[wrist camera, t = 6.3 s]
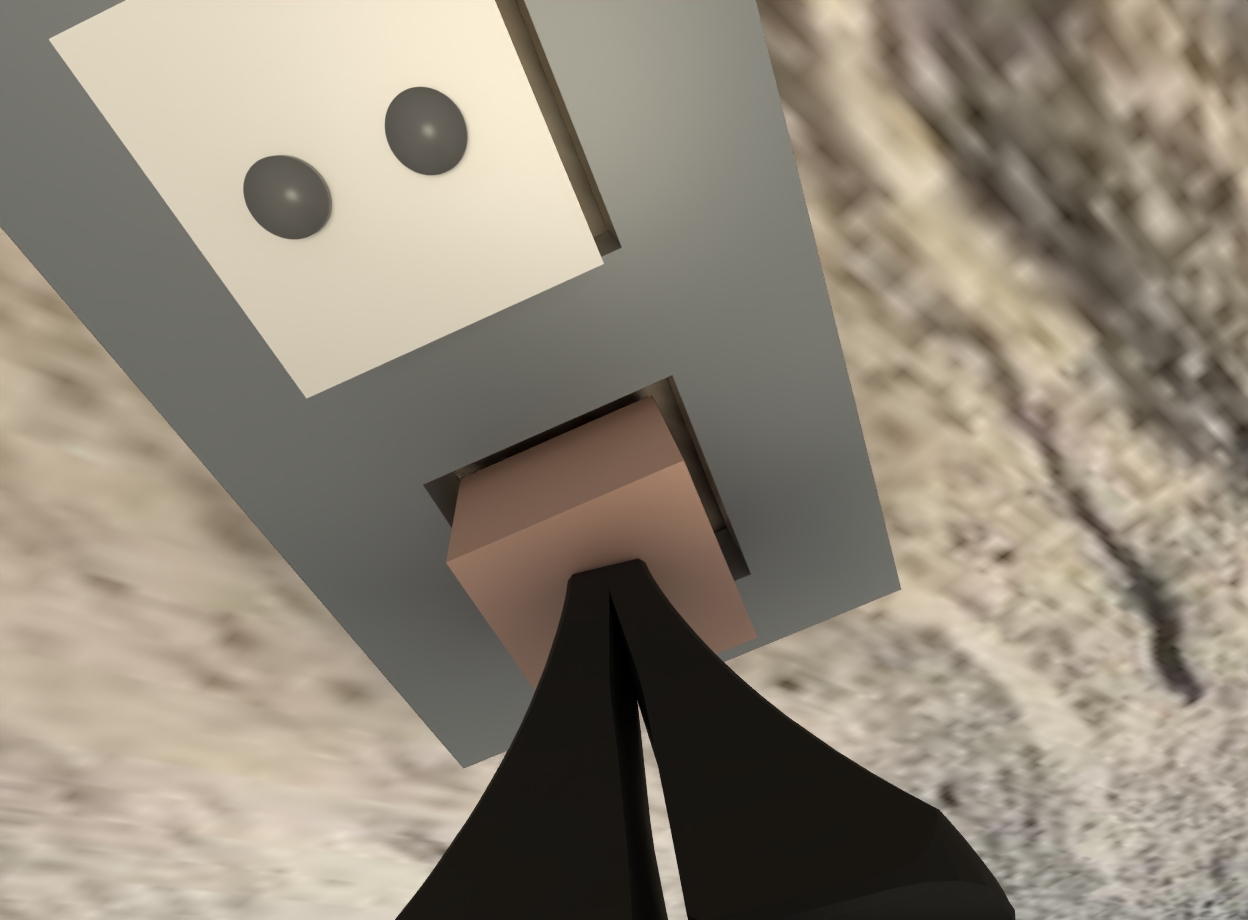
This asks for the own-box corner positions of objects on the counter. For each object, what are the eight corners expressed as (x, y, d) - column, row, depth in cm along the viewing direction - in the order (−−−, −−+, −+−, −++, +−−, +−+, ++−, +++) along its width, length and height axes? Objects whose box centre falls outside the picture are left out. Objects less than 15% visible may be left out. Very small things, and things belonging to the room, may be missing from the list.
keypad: (469, 707, 18) (463, 768, 17) (-845, -961, 6) (-1384, -1394, 4) (863, 543, 18) (900, 588, 16) (252, -1695, 6) (126, -2543, 4)
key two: (356, 336, 11) (301, 404, 9) (182, 64, 9) (35, 37, 6) (584, 231, 11) (606, 266, 8) (457, -71, 9) (429, -162, 6)
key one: (550, 621, 16) (556, 728, 13) (460, 478, 14) (444, 569, 11) (717, 550, 15) (760, 645, 13) (651, 394, 13) (686, 465, 11)
